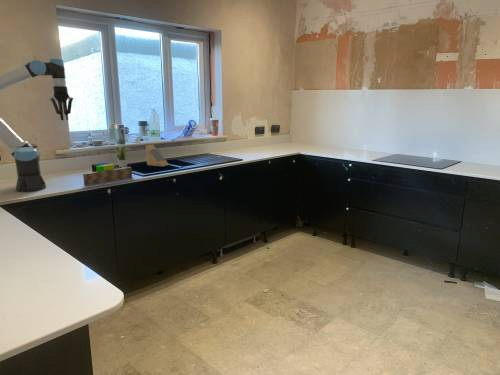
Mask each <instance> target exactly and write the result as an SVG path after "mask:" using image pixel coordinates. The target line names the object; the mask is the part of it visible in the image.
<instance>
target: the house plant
mask: <svg viewBox="0 0 500 375" xmlns="http://www.w3.org/2000/svg"><path fill="white" fill-rule="evenodd" d="M130 149H132V146H131V147H128V146H127V147H126V148H124V147H123V146H122V145H121V146H119V151H117V150H116V149H115V148H113V150H114V151H115V152H116V153H115V155H114V156H115V157H116V158H117V164H118V167H121V168H125V167H128V158H127V157H128V156H129V155H130V156H131V153H127V152H128V151H129V150H130Z"/></svg>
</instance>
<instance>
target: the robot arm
mask: <svg viewBox="0 0 500 375" xmlns="http://www.w3.org/2000/svg"><path fill="white" fill-rule="evenodd" d="M40 76H41V77H42V76H45V77H46V76H51V78H52V79H51V80H52V88H53V96H52V97H50V98H49V100H50V101H51V103H52V105H53V107H54V111H55V113H56V114H57V115H59V118H60V121H61V122H62V126H64V127H68V122H67V121H68V120H69V117H68V115H69V114H71V111H72V104H73V103H72V102H73V100H74V97H71V96H70V95H69V93H68V87H67V86H68V84H67V83H68V82H67V76H66V67H65V61H64V60H63V59H62V58H50V59H49V61H48V62H47V61H46V62H44V61H42V60H39V59H34V60H32V61H27V63H26V64H23V65H21V66H18V67H16V68H13V69H11V70H7V71H6V72H3V73H1V74H0V93H1V92H3V91H6V90H7V89H10V88H12V87H14V86H17V85H19V84H22V83H24V82H26V81H28V80H31V79H33V78H34V79H35V78H36V77H40ZM56 101H57V102H56ZM67 101H68V103H67ZM57 103H58V104H57ZM0 141H1V142H2V143H3V144H4V145H5V146H6V147H7V148H8V149H9V150H10V151H9V152H10V153H9V154H10V155H11V156H12V157H13V158H14V162H15V168H16V174H17V179H16V184H15V189H16V192H21V193H22V192H23V193H24V192H34V191H40V190H43V189H46V188H47V184H46V181H45V179H44V178H43V176H42V174H41V173H42V172H41V167H40V160H41V155H40V151H39V150H38V149H37V148H35V147H33V145H32V144H30V143H29V142H28V141H27V140H23V139H22V138H21V137H20V136H19V135H18V134H17V133H16V132H15V131H14V130H13V129H12V128H11V127H10V125H8V123H6V122H5V121H4V119H3V118H1V117H0Z"/></svg>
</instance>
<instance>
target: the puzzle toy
mask: <svg viewBox="0 0 500 375" xmlns="http://www.w3.org/2000/svg"><path fill="white" fill-rule="evenodd" d="M91 169H92V172H98V171H105V170H112V169H115V164H113V163H109V162H102V163H95V164H94V163H93V164H91ZM92 172H91V173H92Z"/></svg>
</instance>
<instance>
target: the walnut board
mask: <svg viewBox="0 0 500 375" xmlns="http://www.w3.org/2000/svg"><path fill="white" fill-rule="evenodd" d="M132 170H133V168H132V167H131V166H127V167H125V168H114V169H112V170H105V171H98V172H85V173H82V177H83V185H84V186H85V187H87V186H92V185H93V186H94V185H99V184H105V183H110V182H115V181H116V182H117V181H121V180H127V179H133V171H132Z"/></svg>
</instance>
